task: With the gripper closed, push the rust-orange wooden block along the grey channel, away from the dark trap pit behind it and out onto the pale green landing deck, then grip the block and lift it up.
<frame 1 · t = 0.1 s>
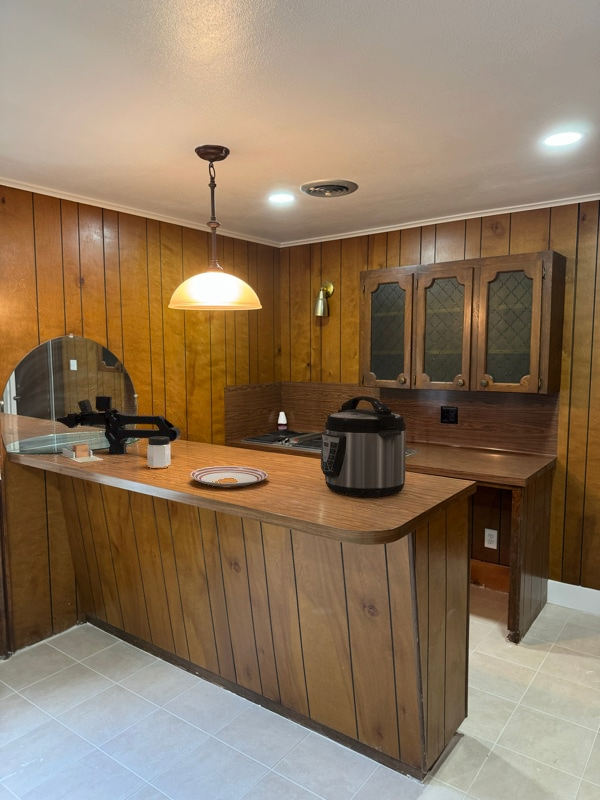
hand: (62, 418, 244), 17 cm above the countertop, tool horizontal, fingers open, 9 cm apart
block: (80, 456, 235), point 1 cm above the countertop, touching channel
dinner plate: (229, 482, 198), on the countertop
pressure cooker: (362, 490, 187), on the countertop
jar: (159, 467, 222), on the countertop
channel: (81, 460, 235), on the countertop
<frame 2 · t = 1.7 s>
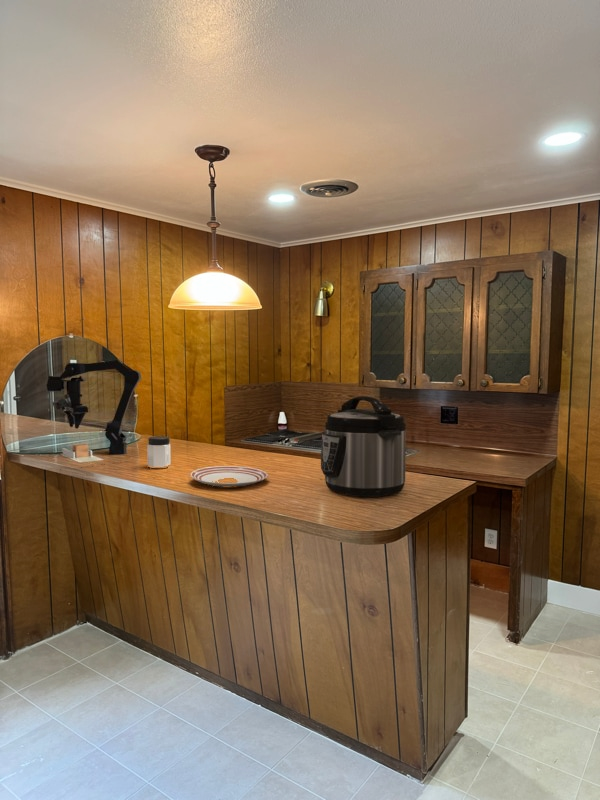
hand: (74, 427, 240), 13 cm above the countertop, tool pointing down, fingers open, 6 cm apart
nothing on the countertop moved.
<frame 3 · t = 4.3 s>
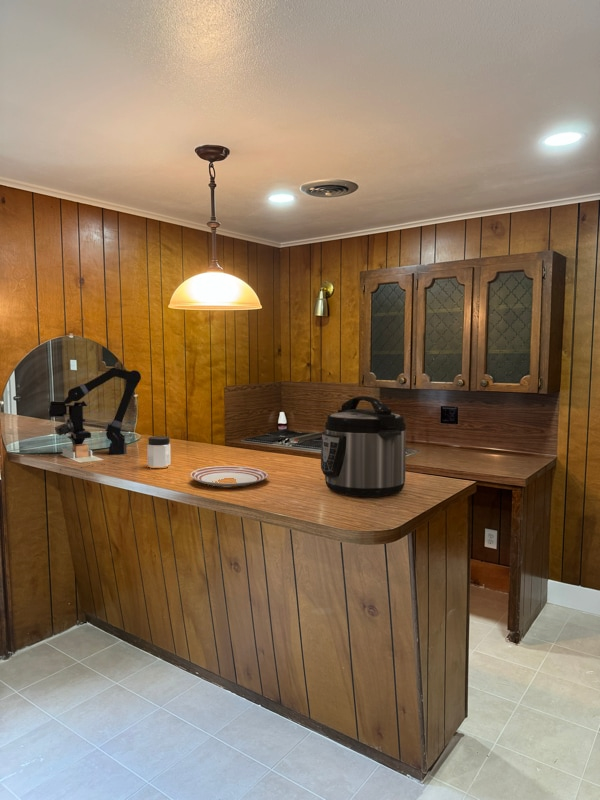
hand: (76, 452, 239), 2 cm above the countertop, tool pointing down, fingers closed
block: (80, 456, 235), point 2 cm above the countertop, touching channel, gripper
everything else where it was.
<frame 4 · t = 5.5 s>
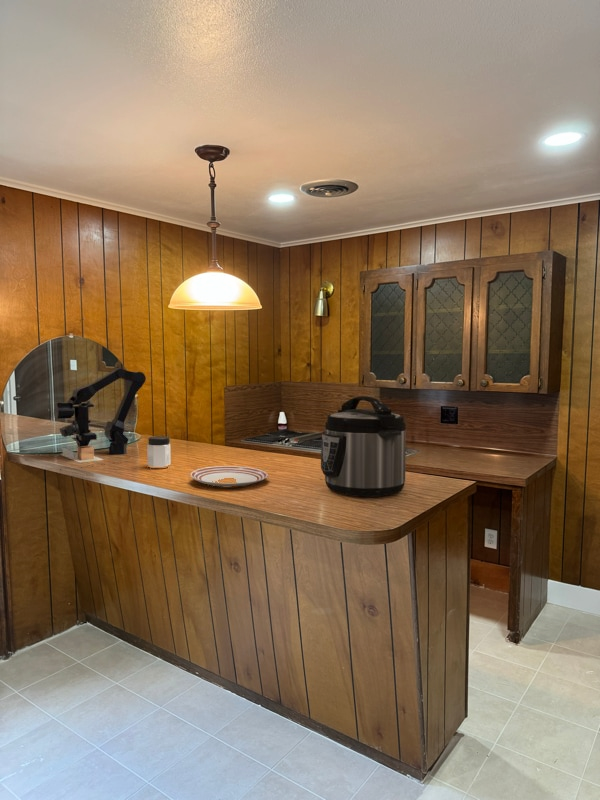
hand: (81, 454, 234), 3 cm above the countertop, tool pointing down, fingers closed
block: (85, 458, 230), point 2 cm above the countertop, touching channel, gripper
everything else where it was.
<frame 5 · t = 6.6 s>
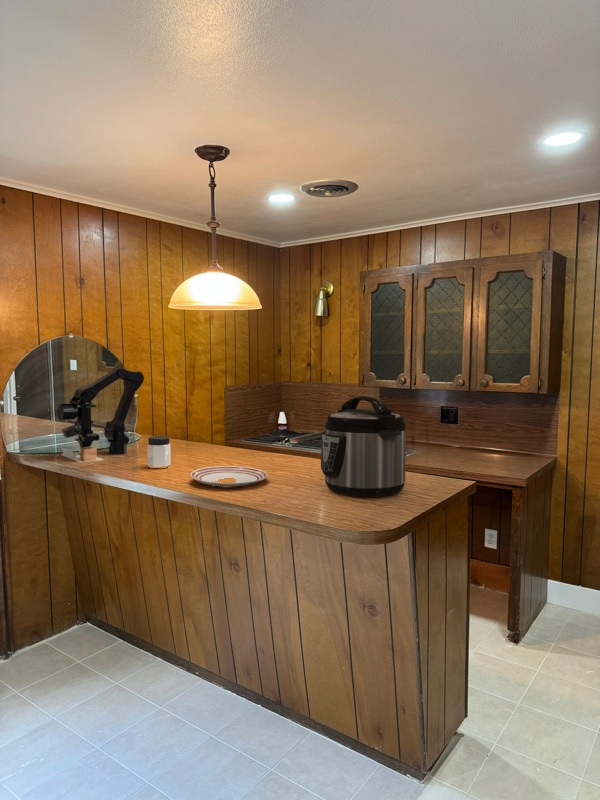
hand: (84, 455, 231), 3 cm above the countertop, tool pointing down, fingers closed
block: (88, 459, 228), point 1 cm above the countertop, touching channel, gripper
everything else where it was.
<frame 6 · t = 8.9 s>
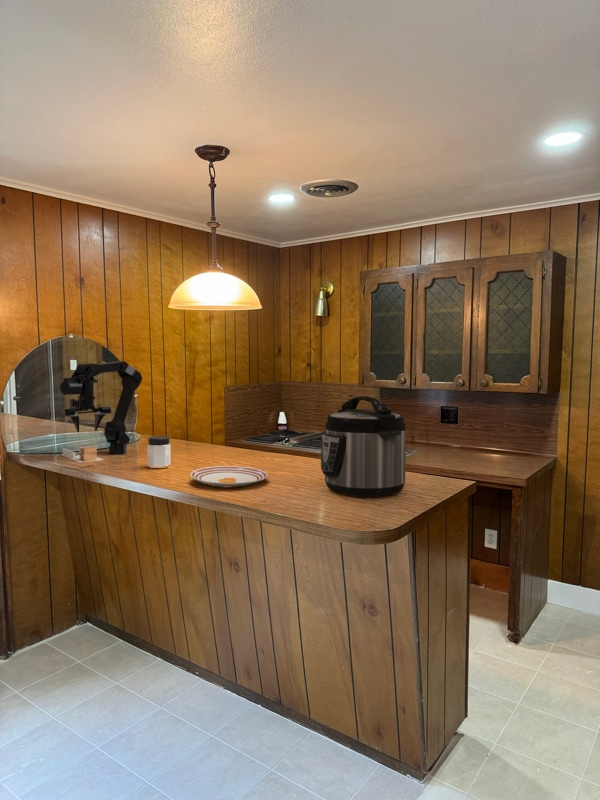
hand: (86, 431, 228), 13 cm above the countertop, tool pointing down, fingers open, 7 cm apart
block: (88, 459, 228), point 1 cm above the countertop, touching channel
everything else where it was.
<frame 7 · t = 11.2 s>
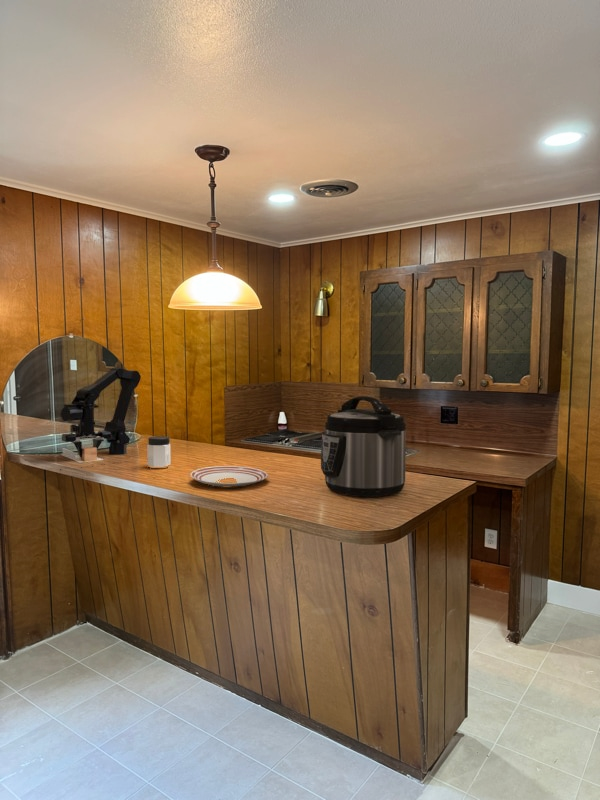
hand: (87, 456, 229), 3 cm above the countertop, tool pointing down, fingers closed on block, 5 cm apart
block: (88, 459, 228), point 2 cm above the countertop, touching channel, gripper
everything else where it was.
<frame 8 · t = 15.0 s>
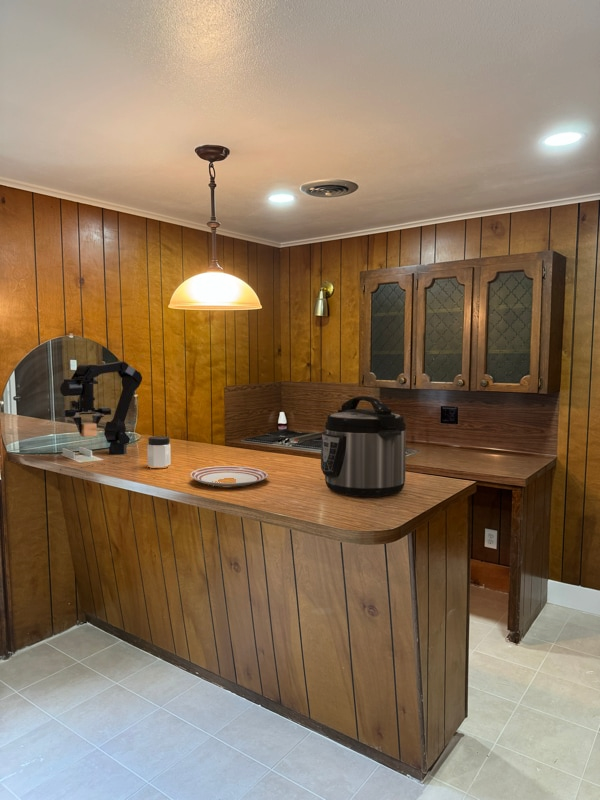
hand: (86, 432, 228), 12 cm above the countertop, tool pointing down, fingers closed on block, 5 cm apart
block: (88, 435, 227), point 11 cm above the countertop, touching gripper
everything else where it was.
at the end: the gripper is holding block; block point 11.5 cm above the countertop; block inside the target area (1.6 cm from its centre), point 11.5 cm above the countertop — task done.
